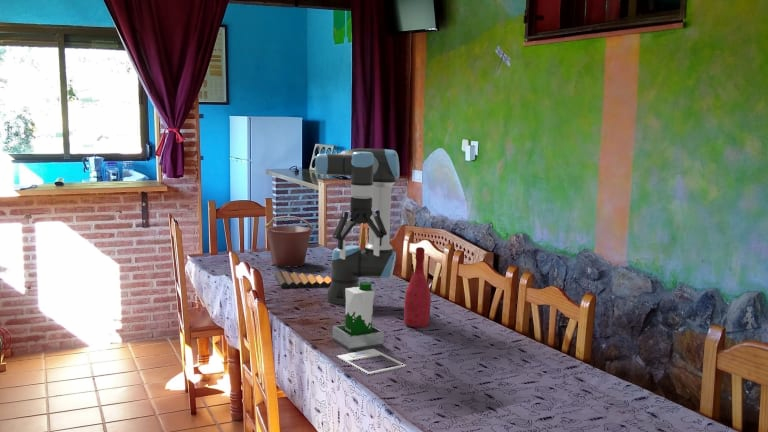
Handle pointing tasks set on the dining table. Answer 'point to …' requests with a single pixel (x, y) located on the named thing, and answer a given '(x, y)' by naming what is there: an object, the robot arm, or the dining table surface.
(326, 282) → the pan flute
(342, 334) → the collar
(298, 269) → the dining table surface
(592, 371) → the dining table surface
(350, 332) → the soya milk
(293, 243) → the bucket
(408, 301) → the wine bottle
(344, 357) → the photo frame
